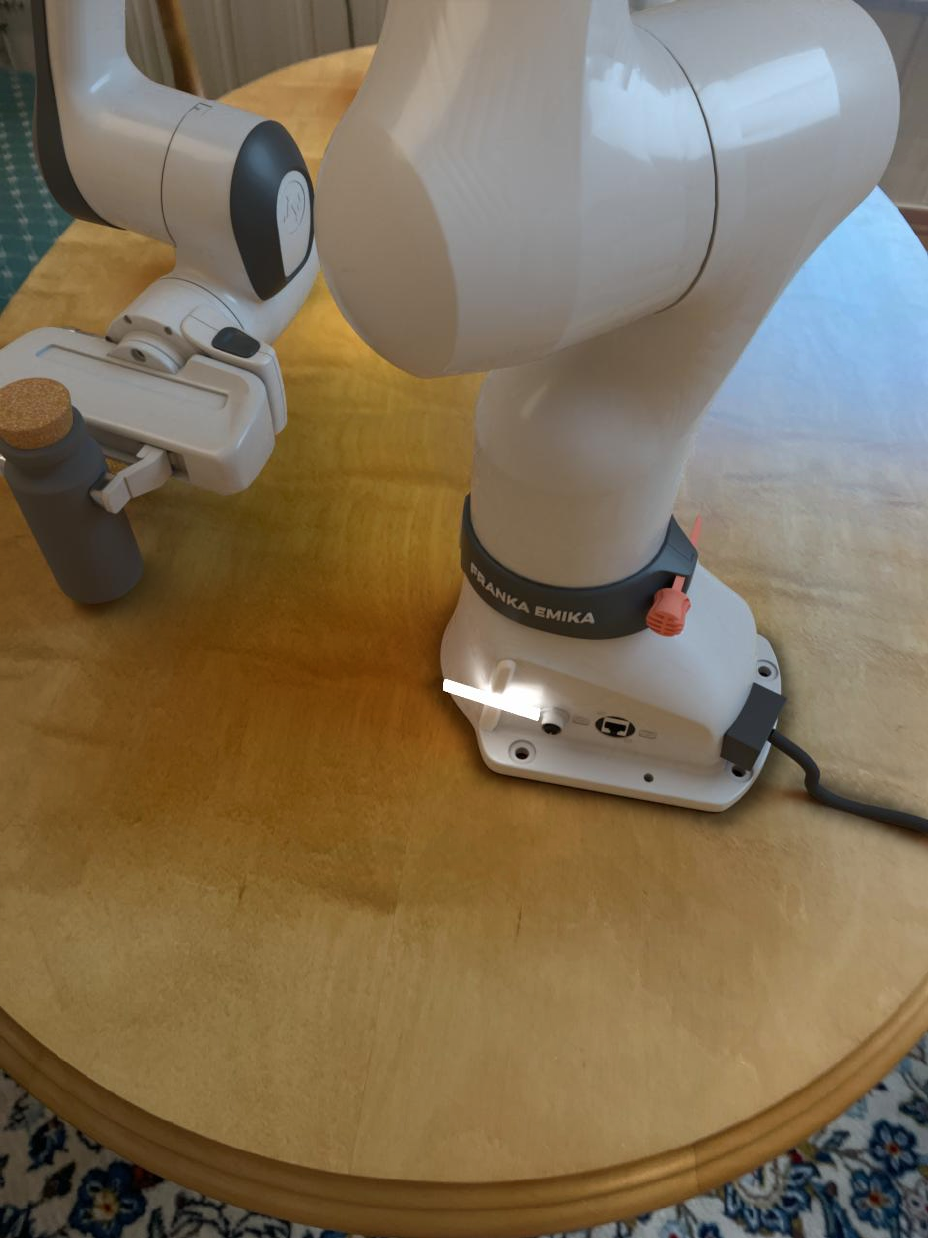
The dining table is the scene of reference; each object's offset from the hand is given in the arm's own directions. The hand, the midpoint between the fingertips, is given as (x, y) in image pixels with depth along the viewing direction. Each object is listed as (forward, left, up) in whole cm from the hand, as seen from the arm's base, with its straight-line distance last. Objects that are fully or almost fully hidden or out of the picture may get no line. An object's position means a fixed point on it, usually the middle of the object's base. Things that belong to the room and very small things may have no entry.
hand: (52, 487), depth 60 cm
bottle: (0, -1, -9) cm, 9 cm away
